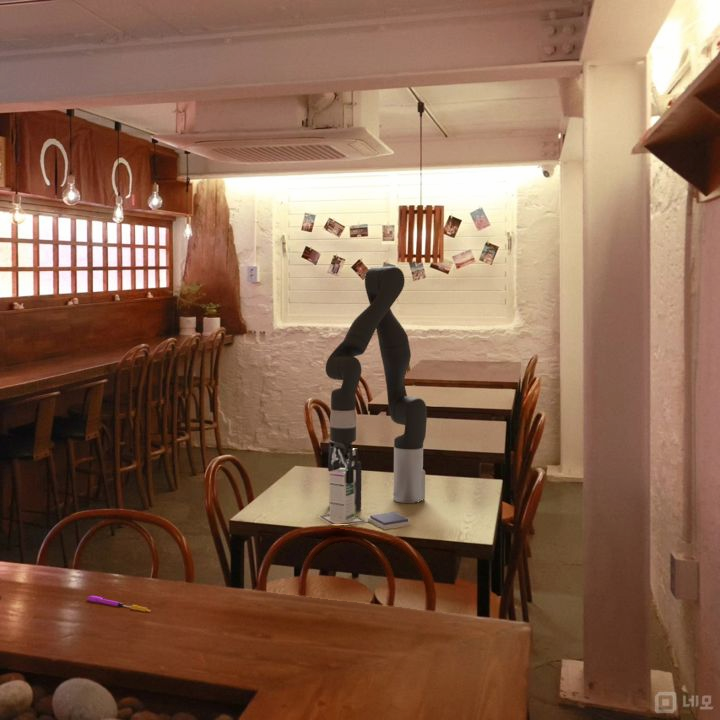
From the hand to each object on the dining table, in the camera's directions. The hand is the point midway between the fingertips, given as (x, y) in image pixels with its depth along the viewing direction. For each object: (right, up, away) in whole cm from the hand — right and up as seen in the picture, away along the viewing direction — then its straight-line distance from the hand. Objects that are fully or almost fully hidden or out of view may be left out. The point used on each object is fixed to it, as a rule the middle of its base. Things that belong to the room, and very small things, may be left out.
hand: (342, 480), depth 228 cm
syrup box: (0, -12, +1) cm, 12 cm away
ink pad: (+13, -12, -2) cm, 18 cm away
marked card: (0, -12, +1) cm, 12 cm away
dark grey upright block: (0, -11, +14) cm, 17 cm away
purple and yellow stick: (-46, -17, -62) cm, 79 cm away
